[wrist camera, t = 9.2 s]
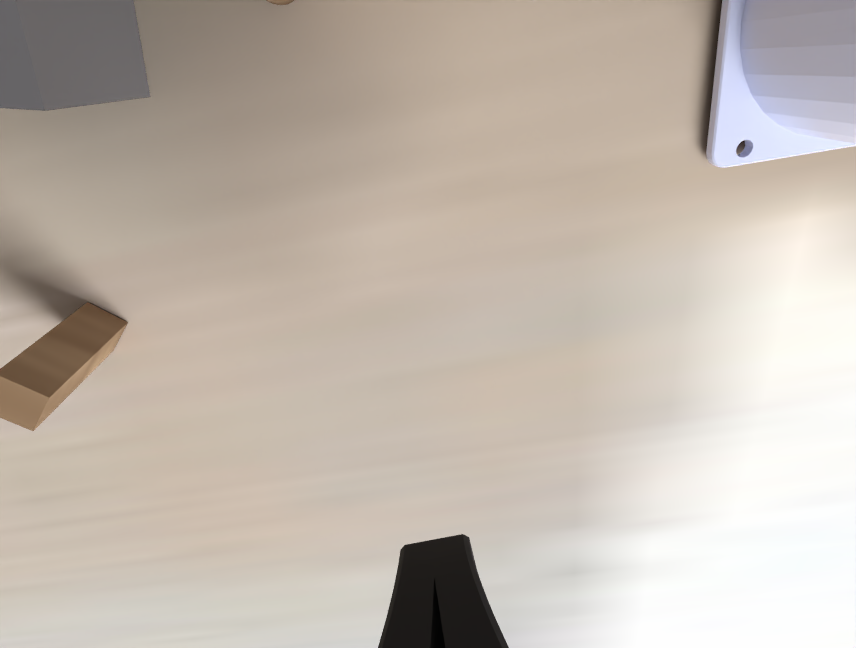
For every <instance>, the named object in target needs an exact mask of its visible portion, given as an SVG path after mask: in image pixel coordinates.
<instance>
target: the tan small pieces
mask: <svg viewBox="0 0 856 648" xmlns="http://www.w3.org/2000/svg"><path fill="white" fill-rule="evenodd" d="M267 1H269V2H271V3H273V4H277V5H286V4H289V3H291V2H293V1H294V0H267ZM127 323H128V322H126V321H124V320H122V319H120V318H118V317H116V316H114V315H112V314H110V313H108V312H106V311H104V310H102V309H100V308H98V307H96V306H94V305H93V304H91V303H89V302H87V303H86V304H85V305H83V306H82V307H81V308H79V309H78V310H77V311H75V312H74V313H73V314H71V315H70V316H69V317H68V318H66V319H65V320H64V321H62V322H61V323H60V324H58V325H57V326H56V327H54V328H53V329H52V330H51V331H49V332H48V333H47V334H45V335H44V336H43V337H41V338H40V339H39V340H38V341H36V342H35V343H34V344H32V345H31V346H30V347H28V348H27V349H26V350H24V351H23V352H22V353H21V354H19V355H18V356H17V357H15V358H14V359H13V360H11V361H10V362H9V363H7V364H6V365H5V366H4V367H2V368H1V369H0V418H3V419H5V420H7V421H10V422H12V423H15V424H17V425H19V426H22V427H24V428H27V429H29V430H32V431H34V430H35V429H36V428H37V427H38V426H39V425H40V424H41V423H42V422H43V421H44V420H45V419H46V418H47V417H48V416H49V415H50V414H51V413H52V412H53V411H54V410H55V409H56V408H57V407H58V406H59V405H60V404H61V403H62V402H63V401H64V400H65V399H66V398H67V397H68V396H69V395H70V394H71V393H72V392H73V391H74V390H75V389H76V388H77V387H78V386H79V385H80V384H81V382H82V381H83V380H84V379H85V378H86V377H87V376H88V375H89V374H90V373H91V372H92V371H93V370H94V369H95V368H96V367H97V366H98V365H99V364H100V363H101V362H102V361H103V360H104V359H105V358H106V357H107V356H108V355H109V354H110V353H111V352H112V351H113V350H114V348H115V346H116V344H117V342H118V341H119V339H120V337H121V335H122V333H123V331H124V329H125V327H126V325H127Z"/></svg>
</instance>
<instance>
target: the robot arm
mask: <svg viewBox="0 0 856 648" xmlns="http://www.w3.org/2000/svg"><path fill="white" fill-rule="evenodd" d="M741 141H745V148H744V150H743V151H742V152H741V153H740V154H738V155H737V154H736V149H737V146H738V145H739V144H740V142H741ZM851 146H856V0H722V9H721V18H720V28H719V37H718V47H717V56H716V65H715V75H714V84H713V94H712V103H711V113H710V122H709V132H708V141H707V150H706V155H707V159H708V161H709V163H711V164H712V165H714V166H717V167H731V166H737V165H743V164H749V163H755V162H761V161H767V160H773V159H779V158H785V157H791V156H797V155H803V154H809V153H815V152H821V151H827V150H833V149H839V148H845V147H851ZM378 648H509V647H508V645H507V643H506V641H505V639H504V636H503V634H502V632H501V630H500V628H499V625H498V623H497V621H496V619H495V617H494V614H493V612H492V609H491V607H490V605H489V602H488V600H487V597H486V594H485V592H484V589H483V587H482V584H481V581H480V578H479V575H478V572H477V569H476V565H475V560H474V556H473V552H472V548H471V544H470V540H469V537H467V536H465V535H463V534H461V535H456V536H451V537H445V538H440V539H435V540H429V541H424V542H419V543H413V544H408V545H404V547H403V548H402V549H401V551H400V558H399V564H398V570H397V575H396V580H395V585H394V589H393V594H392V598H391V602H390V606H389V610H388V614H387V618H386V622H385V625H384V629H383V632H382V636H381V639H380V643H379V646H378Z"/></svg>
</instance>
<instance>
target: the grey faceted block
mask: <svg viewBox="0 0 856 648" xmlns="http://www.w3.org/2000/svg"><path fill="white" fill-rule="evenodd" d="M145 97H150V92H149V86H148V81H147V75H146V69H145V64H144V58H143V52H142V46H141V41H140V35H139V29H138V24H137V18H136V12H135V7H134V1H133V0H0V108H10V109H26V110H42V111H46V110H54V109H61V108H69V107H77V106H84V105H92V104H100V103H107V102H115V101H122V100H130V99H138V98H145Z"/></svg>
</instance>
